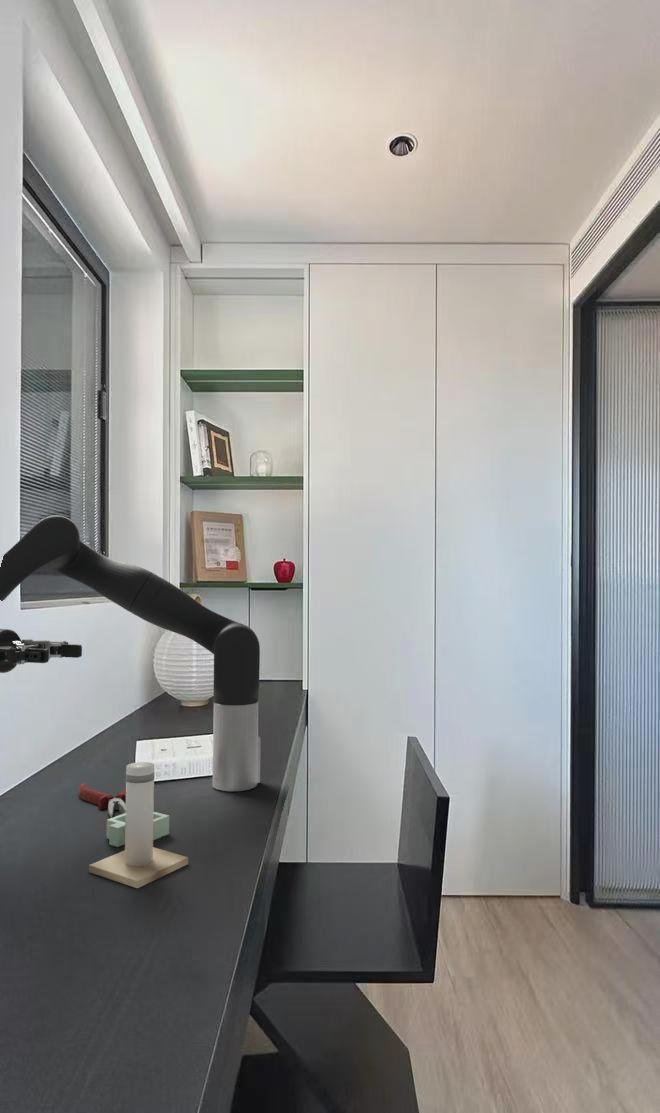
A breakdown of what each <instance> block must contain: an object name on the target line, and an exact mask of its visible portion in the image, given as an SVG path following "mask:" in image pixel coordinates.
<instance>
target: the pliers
mask: <svg viewBox="0 0 660 1113" xmlns="http://www.w3.org/2000/svg"><path fill="white" fill-rule="evenodd" d="M78 796H79V798H80V799H81V800H83V801H85V802H88V803H91V804H93V805H96V806H97V809H98V810H104V809H107V813H108V816H109V817H110V818H113V816H114V813H115V810H116V811H118V813H120V815H122V814H124V813H126V788H125V789H123V790H122V791H121V792H119V793H117V794H116V795H115V797H114V795H112V794H111V793H110V794H108V793H104V792H101V791H98V790H94V789H91V788H90V787H87V784H86V782H83V783H81V784H80V785H79V787H78Z"/></svg>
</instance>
